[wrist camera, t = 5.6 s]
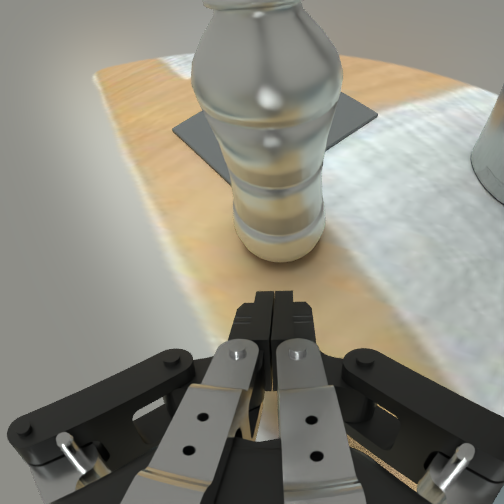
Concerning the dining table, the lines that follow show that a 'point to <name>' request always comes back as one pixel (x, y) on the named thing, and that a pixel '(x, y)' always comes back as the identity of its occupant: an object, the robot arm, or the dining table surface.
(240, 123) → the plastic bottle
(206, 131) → the rubber mat
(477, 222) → the dining table surface
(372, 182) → the dining table surface
